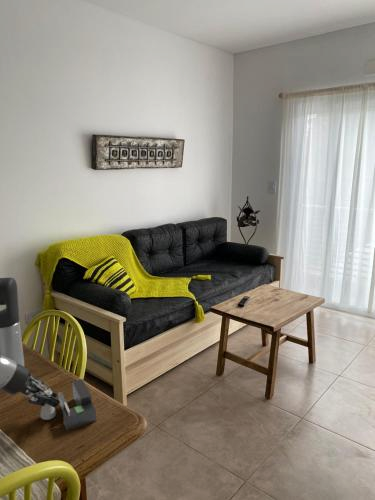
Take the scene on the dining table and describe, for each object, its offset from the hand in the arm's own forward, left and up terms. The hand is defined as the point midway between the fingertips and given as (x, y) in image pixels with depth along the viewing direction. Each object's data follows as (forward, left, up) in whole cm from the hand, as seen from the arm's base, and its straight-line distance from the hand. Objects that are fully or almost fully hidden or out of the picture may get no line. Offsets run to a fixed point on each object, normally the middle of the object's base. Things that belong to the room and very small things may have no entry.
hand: (56, 400), depth 113 cm
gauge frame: (+2, +5, -4) cm, 7 cm away
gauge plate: (+2, +2, -3) cm, 4 cm away
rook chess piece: (0, -3, -4) cm, 5 cm away
